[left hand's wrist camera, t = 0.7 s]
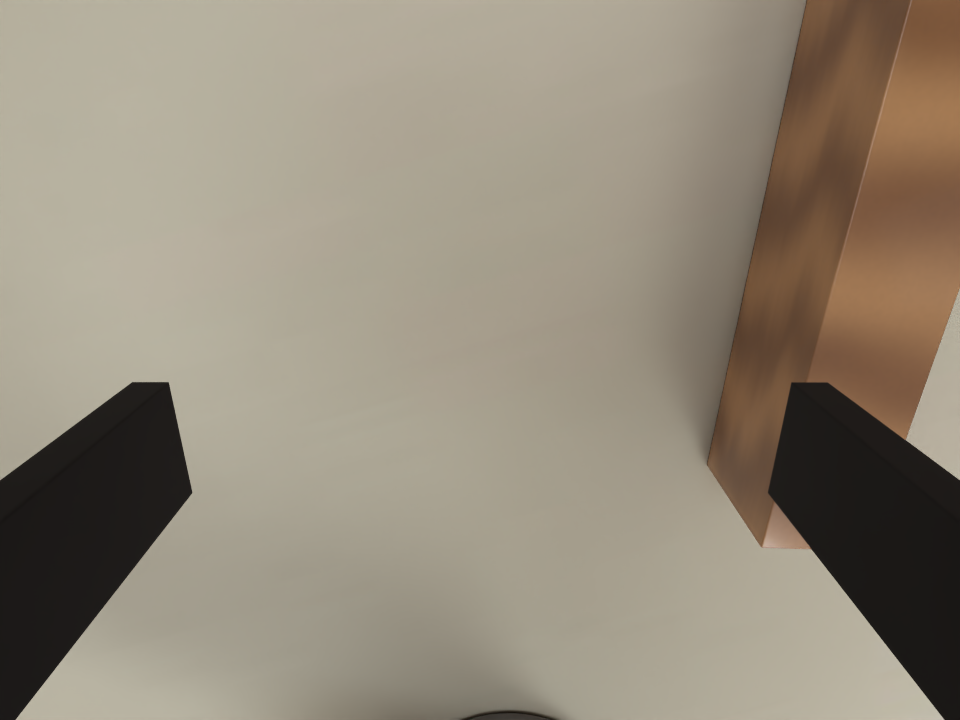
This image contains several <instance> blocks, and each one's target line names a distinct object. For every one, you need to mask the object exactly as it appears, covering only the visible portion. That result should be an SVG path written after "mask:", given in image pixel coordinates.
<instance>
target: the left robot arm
mask: <svg viewBox="0 0 960 720" xmlns="http://www.w3.org/2000/svg"><path fill="white" fill-rule="evenodd" d="M191 494H192V489H191V484H190V480H189V475H188V470H187V466H186V461H185V456H184V452H183V447H182V442H181V438H180V433H179V428H178V424H177V419H176V414H175V410H174V405H173V400H172V396H171V391H170V386H169V382H132V383H131V384H129V385H128V386H127V387H125V388H124V389H123V390H121V391H120V392H119V393H117V394H116V395H115V396H113V397H112V398H111V399H109V400H108V401H106V402H105V403H104V404H102V405H101V406H100V407H98V408H97V409H96V410H94V411H93V412H92V413H90V414H89V415H88V416H86V417H85V418H84V419H82V420H81V421H80V422H78V423H77V424H76V425H74V426H73V427H72V428H70V429H69V430H67V431H66V432H65V433H63V434H62V435H61V436H59V437H58V438H57V439H55V440H54V441H53V442H51V443H50V444H49V445H47V446H46V447H45V448H43V449H42V450H41V451H39V452H38V453H37V454H35V455H34V456H32V457H31V458H30V459H28V460H27V461H26V462H24V463H23V464H22V465H20V466H19V467H18V468H16V469H15V470H14V471H12V472H11V473H10V474H8V475H7V476H6V477H4V478H3V479H2V480H0V720H16V718H17V717H18V716H19V714H20V713H21V712H22V711H23V709H24V708H25V707H26V705H27V704H28V703H29V702H30V700H31V699H32V698H33V696H34V695H35V694H36V693H37V691H38V690H39V689H40V688H41V686H42V685H43V684H44V682H45V681H46V680H47V679H48V677H49V676H50V675H51V673H52V672H53V671H54V670H55V668H56V667H57V666H58V664H59V663H60V662H61V661H62V659H63V658H64V657H65V655H66V654H67V653H68V652H69V650H70V649H71V648H72V646H73V645H74V644H75V643H76V641H77V640H78V639H79V638H80V636H81V635H82V634H83V632H84V631H85V630H86V629H87V627H88V626H89V625H90V623H91V622H92V621H93V620H94V618H95V617H96V616H97V614H98V613H99V612H100V611H101V609H102V608H103V607H104V605H105V604H106V603H107V602H108V600H109V599H110V598H111V596H112V595H113V594H114V593H115V591H116V590H117V589H118V588H119V586H120V585H121V584H122V582H123V581H124V580H125V579H126V577H127V576H128V575H129V573H130V572H131V571H132V570H133V568H134V567H135V566H136V564H137V563H138V562H139V561H140V559H141V558H142V557H143V555H144V554H145V553H146V552H147V550H148V549H149V548H150V546H151V545H152V544H153V543H154V541H155V540H156V539H157V538H158V536H159V535H160V534H161V532H162V531H163V530H164V529H165V527H166V526H167V525H168V523H169V522H170V521H171V520H172V518H173V517H174V516H175V514H176V513H177V512H178V511H179V509H180V508H181V507H182V505H183V504H184V503H185V502H186V500H187V499H188V498H189V496H190V495H191ZM768 494H769V495H770V496H771V498H772V499H773V500H774V502H775V503H776V504H777V505H778V507H779V508H780V509H781V511H782V512H783V513H784V514H785V516H786V517H787V518H788V520H789V521H790V522H791V523H792V525H793V526H794V527H795V529H796V530H797V531H798V532H799V534H800V535H801V536H802V538H803V539H804V540H805V541H806V543H807V544H808V545H809V546H810V548H811V549H812V550H813V552H814V553H815V554H816V555H817V557H818V558H819V559H820V561H821V562H822V563H823V564H824V566H825V567H826V568H827V570H828V571H829V572H830V573H831V575H832V576H833V577H834V579H835V580H836V581H837V582H838V584H839V585H840V586H841V588H842V589H843V590H844V591H845V593H846V594H847V595H848V596H849V598H850V599H851V600H852V602H853V603H854V604H855V605H856V607H857V608H858V609H859V611H860V612H861V613H862V614H863V616H864V617H865V618H866V620H867V621H868V622H869V623H870V625H871V626H872V627H873V629H874V630H875V631H876V632H877V634H878V635H879V636H880V638H881V639H882V640H883V641H884V643H885V644H886V645H887V646H888V648H889V649H890V650H891V652H892V653H893V654H894V655H895V657H896V658H897V659H898V661H899V662H900V663H901V664H902V666H903V667H904V668H905V670H906V671H907V672H908V673H909V675H910V676H911V677H912V679H913V680H914V681H915V682H916V684H917V685H918V686H919V688H920V689H921V690H922V691H923V693H924V694H925V695H926V696H927V698H928V699H929V700H930V702H931V703H932V704H933V705H934V707H935V708H936V709H937V711H938V712H939V713H940V714H941V716H942V717H943V718H944V720H960V480H958V479H957V478H956V477H954V476H953V475H952V474H950V473H949V472H948V471H946V470H945V469H944V468H942V467H941V466H940V465H938V464H937V463H936V462H934V461H933V460H932V459H930V458H929V457H928V456H926V455H925V454H923V453H922V452H921V451H919V450H918V449H917V448H915V447H914V446H913V445H911V444H910V443H909V442H907V441H906V440H905V439H903V438H902V437H901V436H899V435H898V434H897V433H895V432H894V431H893V430H891V429H890V428H888V427H887V426H886V425H884V424H883V423H882V422H880V421H879V420H878V419H876V418H875V417H874V416H872V415H871V414H870V413H868V412H867V411H866V410H864V409H863V408H862V407H860V406H859V405H858V404H856V403H855V402H854V401H852V400H851V399H849V398H848V397H847V396H845V395H844V394H843V393H841V392H840V391H839V390H837V389H836V388H835V387H833V386H832V385H831V384H829V383H828V382H791V386H790V391H789V396H788V400H787V405H786V410H785V414H784V419H783V424H782V428H781V433H780V438H779V442H778V447H777V452H776V456H775V461H774V466H773V470H772V475H771V480H770V484H769V489H768ZM468 720H549V719H546V718H542V717H538V716H534V715H527V714H517V713H501V714H491V715H484V716H480V717H475V718H472V719H468Z"/></svg>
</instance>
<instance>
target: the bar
mask: <svg viewBox="0 0 960 720" xmlns="http://www.w3.org/2000/svg"><path fill="white" fill-rule="evenodd" d="M959 288H960V0H807V4H806V8H805V13H804V18H803V22H802V27H801V32H800V36H799V41H798V45H797V50H796V55H795V59H794V64H793V69H792V73H791V78H790V83H789V87H788V92H787V96H786V101H785V106H784V110H783V115H782V120H781V124H780V129H779V134H778V138H777V143H776V147H775V152H774V157H773V161H772V166H771V171H770V175H769V180H768V185H767V189H766V194H765V198H764V203H763V208H762V212H761V217H760V222H759V226H758V231H757V236H756V240H755V245H754V250H753V254H752V259H751V263H750V268H749V273H748V277H747V282H746V287H745V291H744V296H743V301H742V305H741V310H740V314H739V319H738V324H737V328H736V333H735V338H734V342H733V347H732V352H731V356H730V361H729V365H728V370H727V375H726V379H725V384H724V389H723V393H722V398H721V403H720V407H719V412H718V416H717V421H716V426H715V430H714V435H713V440H712V444H711V449H710V454H709V458H708V463H707V466H708V467H709V469H710V470H711V472H712V473H713V475H714V476H715V478H716V479H717V481H718V482H719V484H720V485H721V487H722V489H723V490H724V492H725V493H726V495H727V496H728V498H729V499H730V501H731V502H732V504H733V505H734V507H735V508H736V510H737V511H738V513H739V514H740V516H741V517H742V519H743V520H744V522H745V523H746V525H747V527H748V528H749V530H750V531H751V533H752V534H753V536H754V537H755V539H756V540H757V542H758V543H759V545H760V546H761V547H762V548H791V549H811V548H810V546H809V545H808V544H807V543H806V541H805V540H804V539H803V538H802V536H801V535H800V534H799V532H798V531H797V530H796V529H795V527H794V526H793V525H792V523H791V522H790V521H789V520H788V518H787V517H786V516H785V514H784V513H783V512H782V511H781V509H780V508H779V507H778V505H777V504H776V503H775V502H774V500H773V499H772V498H771V496H770V495H769V494H768V489H769V484H770V480H771V475H772V470H773V466H774V461H775V456H776V452H777V447H778V442H779V438H780V433H781V428H782V424H783V419H784V414H785V410H786V405H787V400H788V396H789V391H790V386H791V382H828V383H829V384H831V385H832V386H833V387H835V388H836V389H837V390H839V391H840V392H841V393H843V394H844V395H845V396H847V397H848V398H849V399H851V400H852V401H854V402H855V403H856V404H858V405H859V406H860V407H862V408H863V409H864V410H866V411H867V412H868V413H870V414H871V415H872V416H874V417H875V418H876V419H878V420H879V421H880V422H882V423H883V424H884V425H886V426H887V427H888V428H890V429H891V430H893V431H894V432H895V433H897V434H898V435H899V436H901V437H902V438H903V439H905V440H906V437H907V434H908V431H909V429H910V426H911V423H912V420H913V417H914V415H915V412H916V409H917V406H918V403H919V401H920V398H921V395H922V392H923V389H924V387H925V384H926V381H927V378H928V375H929V372H930V370H931V367H932V364H933V361H934V358H935V356H936V353H937V350H938V347H939V344H940V342H941V339H942V336H943V333H944V330H945V328H946V325H947V322H948V319H949V316H950V313H951V311H952V308H953V305H954V302H955V299H956V297H957V294H958V291H959Z"/></svg>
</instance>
